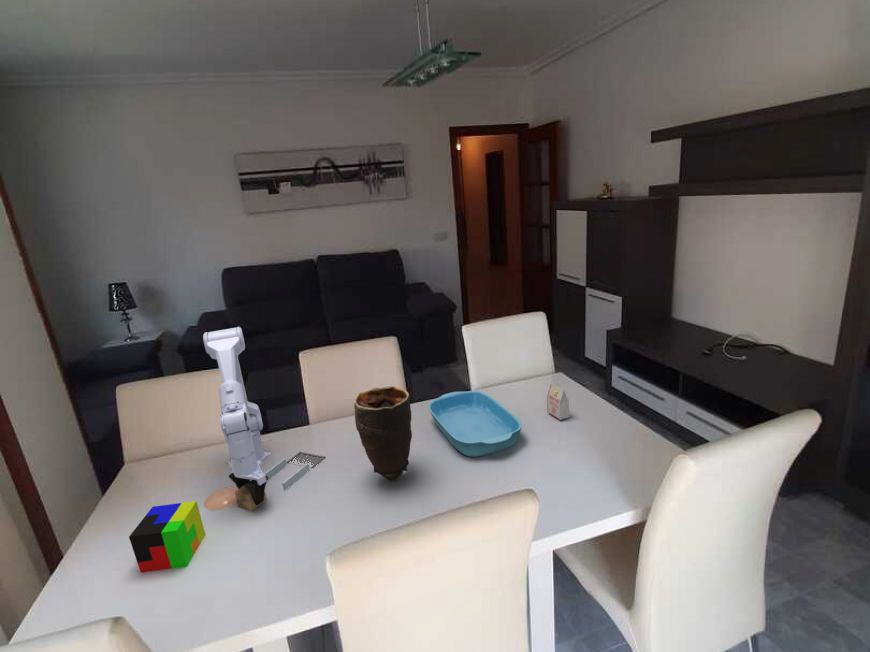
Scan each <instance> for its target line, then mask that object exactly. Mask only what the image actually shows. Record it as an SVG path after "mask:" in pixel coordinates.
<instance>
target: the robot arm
mask: <svg viewBox="0 0 870 652" xmlns="http://www.w3.org/2000/svg"><path fill="white" fill-rule="evenodd" d="M202 338H203V339H202V340H203V344H204V349H205V352H206V354H208V355H209V357H210V358H211V359H213V360H216V361H217V365H218V369H219V373H220V377H221V382H222V383H221V385H220V386H219V388H218V396H219V398H218V399H219V403H220V411H221V414H220V415H219V425H220V429H221V431H222V434H223V436H224V440H225V442H226V443H227V446H228V451H229V455H230V459H231V460H230V461H228V467H229V469H230V470H231V471H232V473H229V475H228V478H229V479H230V480H231V481H232V482H233V483H234V485H235V487H238V489H239V488H241V487H242V486H245V487H246V488H247V489H248V490H249V492H250V494H251V496H252V498H253V501H254V503H255V504H256V505H259V504H260V503H262V502H263V501H264V492H265V493H266V490H265V489H266V486H267V483H268V481H269V480H268V476H266V475H265V474H264V473H263V471H262V468H261V466H262V464H263V462H262V461H263V460H264V458H265V457H266V458H267V457H269V456H270V455H271V454H272V453H271V452H269V451H265V450H264V446H263V441H262V435H261V433H260V432H261V431H262V430H263V427H264V424H263V423H264V422H263V420H262V414H261V411H260V407H259V406H258V404H256V403H254V402H250V401H248V397H247V393H246V388H245V384H244V379H243V378H244V377H243V375H242V371H241V370H242V369H241V365H240V362H239V361H240V360H239V355H240V354H242V352H243V351H245V348H246V345H245V338H244V334H243V330H242V328H241V326H237V327H231V328H226V329H220V330H214V331H209V332H207V331H206V332H204V334H203V335H202ZM268 455H269V456H268ZM266 458H265V459H266ZM261 460H262V461H261ZM249 481H250V482H249ZM262 504H263V503H262Z"/></svg>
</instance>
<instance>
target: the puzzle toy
mask: <svg viewBox="0 0 870 652" xmlns="http://www.w3.org/2000/svg"><path fill="white" fill-rule="evenodd" d="M197 502H198V501H197V500H193V501H186V502H179V503H177V502H176V503H171V504H163V505H155V506H152V507H151V508H150V509H149V511H148V512H147V513H146V514H145V516H144V517H143V518H142V519H141V520H140V522H139V523H138V524H137V526H136V527H135V529H133V531H132V533H130V535H129V536H128V538H129V542H130V544H131V547H132V551H133V553H134V557H135V560H136V562H137V566H138V569H139V573H148V572H156V571H163V570H164V571H165V570H171V569H178V568H184V567H188V566H189V564H190V563H191V561H192V559H193V557H194V555H195V554H196V553H197V550H198V549H199V547H200V545H201V543H202V542H203V540H204V538H205V537H206V532H205V528H204V525H203V520H202V516H201V513H200V510H199V506H198V503H197Z"/></svg>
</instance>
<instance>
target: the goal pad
mask: <svg viewBox="0 0 870 652" xmlns="http://www.w3.org/2000/svg"><path fill="white" fill-rule="evenodd" d="M236 490H238V487H237V486H226V487H223V488H220V489H217V490H216V491H213V492H212V493H211V494H209V495H208V496H207V497H206V498H205V500H204V501H203V507H204V508H205V509H206V510H209V511H217V510H223V509H226V508H228V507H230V506H232V505H234V504H235V503H236V504H237V500H236V495H235V491H236Z"/></svg>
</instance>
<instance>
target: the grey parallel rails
mask: <svg viewBox="0 0 870 652" xmlns="http://www.w3.org/2000/svg"><path fill="white" fill-rule="evenodd" d="M287 464H288V463H287V459H286V458H283V459H281V460H280V461H278V462H277V463H276V464H275V465H273V466H272V467H271V468H270V469H268V470H267V471H266V472H264V473H263V474H265V475H266V476H268V481H269V480H271V479H272V478H273V477H274V476H275V475H277V474H278V473H279V472H281V471H282V470H283V469H285V468H286V467H287V466H286V465H287ZM285 466H286V467H285ZM281 469H282V470H281ZM280 470H281V471H280ZM307 471H308V472H309V471H310V467H309V465H308V463H306V464H305V465H304V466H301V467H300V468H298V470H296V472H294V473H293V474H292V475H290V476H289V477H288V478H287V479H285V481H283V482H282V488H283V491H285V490H286V489H287V488H288V487H289V486H290V487H292V486H293V485H294V484H295V483H296V482H298V481H299V480H300V479H301V478H302V477H304V476H305V475H306V474H307V473H308V472H307ZM306 472H307V473H306ZM276 473H277V474H276ZM305 473H306V474H305ZM304 474H305V475H304ZM272 476H273V477H272ZM271 477H272V478H271ZM300 477H301V478H300ZM299 478H300V479H299ZM298 479H299V480H298ZM294 482H295V483H294ZM293 483H294V484H293ZM292 484H293V485H292ZM290 487H289V488H290ZM289 488H288V489H289ZM288 489H287V490H288ZM287 490H286V491H287Z"/></svg>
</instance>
